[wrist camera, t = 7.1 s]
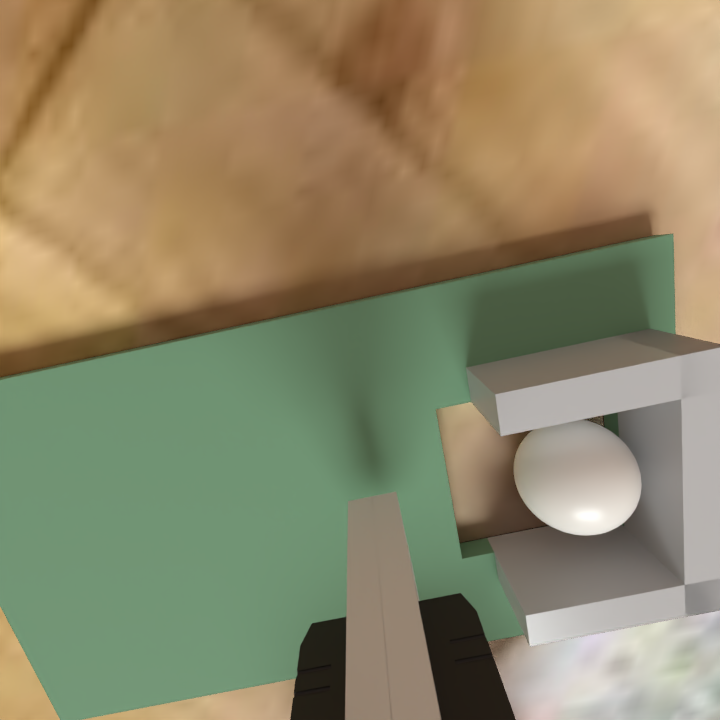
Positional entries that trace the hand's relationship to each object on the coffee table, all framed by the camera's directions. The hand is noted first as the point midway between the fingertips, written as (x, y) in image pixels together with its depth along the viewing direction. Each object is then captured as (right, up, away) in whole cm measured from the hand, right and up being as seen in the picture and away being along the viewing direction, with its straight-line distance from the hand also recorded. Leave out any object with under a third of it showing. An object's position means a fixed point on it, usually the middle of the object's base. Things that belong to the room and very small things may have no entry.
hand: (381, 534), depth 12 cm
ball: (+6, +2, +1) cm, 6 cm away
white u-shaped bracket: (+7, +2, +2) cm, 7 cm away
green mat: (-2, 0, +3) cm, 3 cm away
